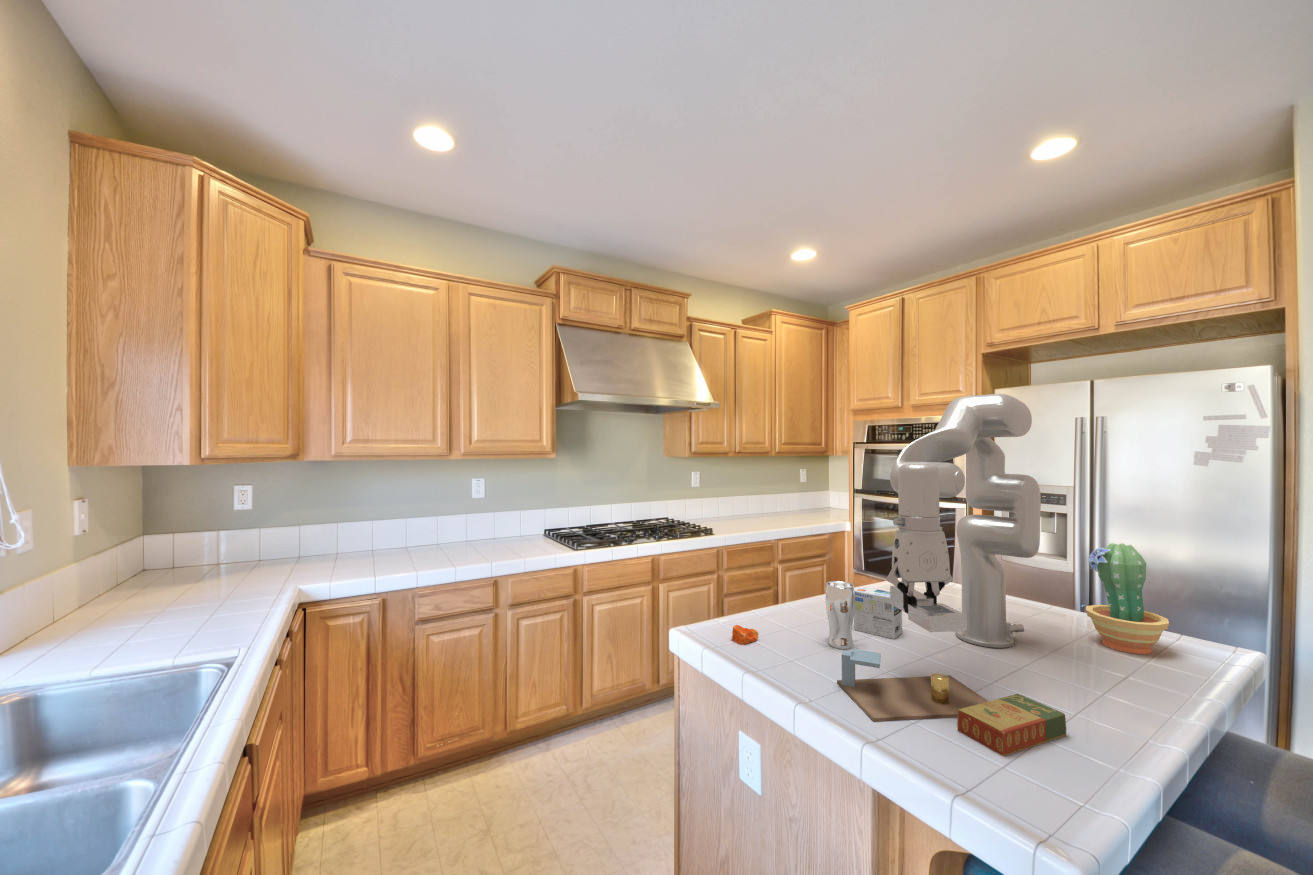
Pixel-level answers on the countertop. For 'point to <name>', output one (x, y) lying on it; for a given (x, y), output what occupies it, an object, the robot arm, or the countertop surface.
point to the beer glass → (840, 613)
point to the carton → (1011, 723)
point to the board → (908, 698)
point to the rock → (744, 635)
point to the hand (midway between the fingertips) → (920, 613)
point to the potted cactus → (1124, 601)
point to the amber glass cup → (939, 688)
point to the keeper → (857, 663)
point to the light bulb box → (876, 613)
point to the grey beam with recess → (930, 613)
